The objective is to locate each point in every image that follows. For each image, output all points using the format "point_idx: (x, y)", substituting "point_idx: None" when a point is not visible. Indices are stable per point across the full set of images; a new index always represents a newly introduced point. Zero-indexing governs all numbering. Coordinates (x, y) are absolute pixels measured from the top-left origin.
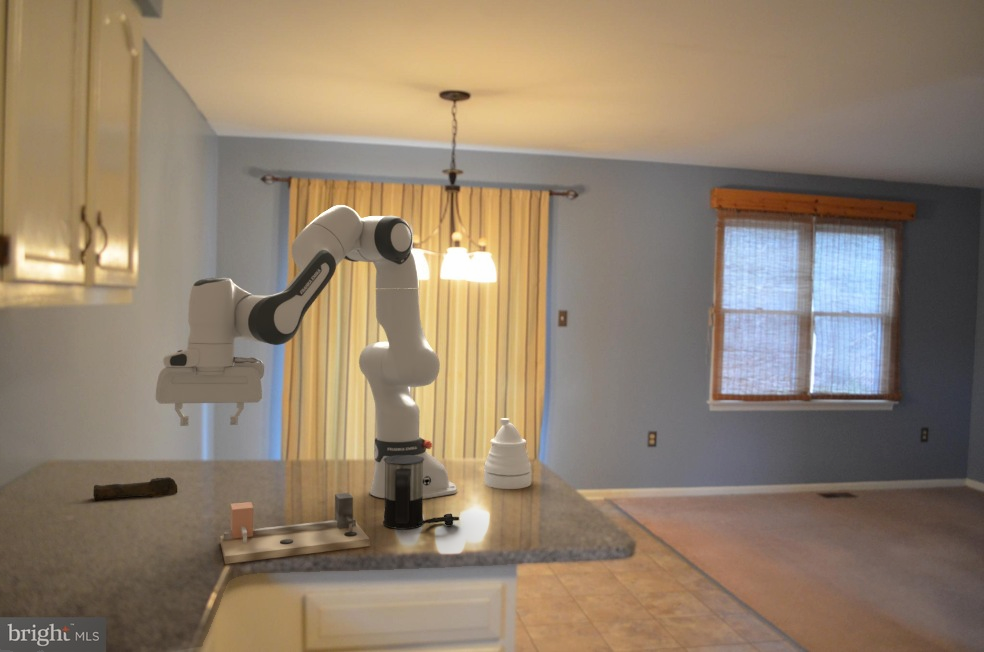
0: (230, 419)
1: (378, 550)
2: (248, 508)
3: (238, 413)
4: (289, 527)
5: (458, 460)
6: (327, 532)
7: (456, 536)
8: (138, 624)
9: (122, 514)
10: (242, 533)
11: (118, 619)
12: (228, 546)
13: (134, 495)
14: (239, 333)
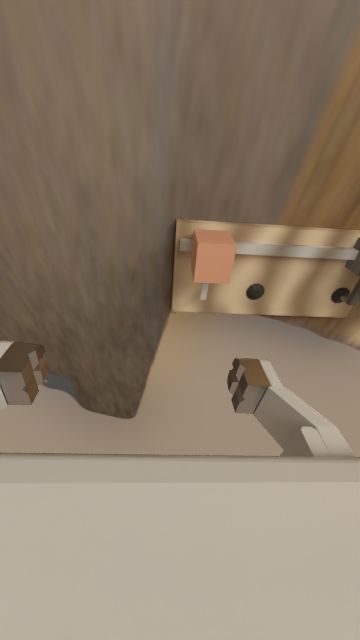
0: (232, 401)
1: (338, 327)
2: (221, 283)
3: (274, 429)
4: (279, 255)
5: None
6: (321, 275)
7: None
8: (97, 394)
9: None
10: (200, 293)
11: (80, 384)
12: (180, 278)
13: None
14: None
